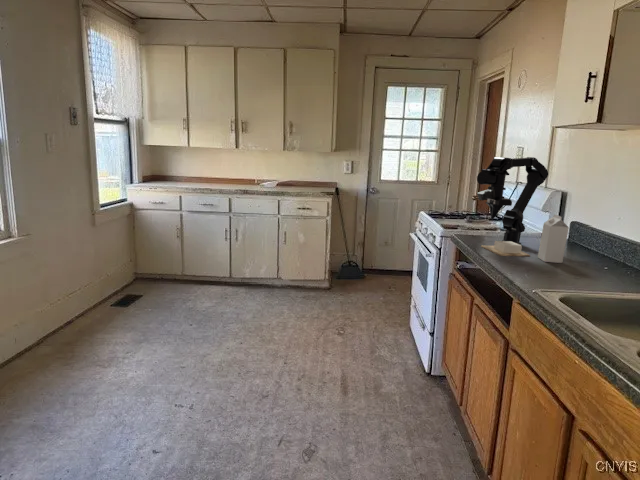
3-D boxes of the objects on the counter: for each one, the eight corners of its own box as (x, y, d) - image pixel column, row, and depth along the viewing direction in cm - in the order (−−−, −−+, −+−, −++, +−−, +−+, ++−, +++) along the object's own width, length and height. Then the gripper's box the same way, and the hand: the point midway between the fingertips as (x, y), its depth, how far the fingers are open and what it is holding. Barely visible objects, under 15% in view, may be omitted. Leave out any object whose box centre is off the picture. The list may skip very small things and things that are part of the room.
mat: (509, 247, 201) (509, 246, 201) (530, 256, 186) (530, 255, 186) (481, 246, 199) (481, 245, 199) (499, 255, 184) (499, 254, 184)
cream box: (511, 241, 194) (521, 245, 187) (510, 249, 195) (520, 253, 188) (494, 240, 193) (504, 245, 186) (493, 248, 194) (503, 253, 186)
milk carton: (554, 259, 184) (562, 214, 180) (562, 263, 177) (570, 217, 173) (537, 257, 185) (545, 213, 180) (544, 262, 178) (552, 216, 173)
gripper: (471, 182, 208) (467, 214, 211) (491, 186, 190) (486, 221, 193) (493, 183, 209) (488, 215, 213) (515, 187, 191) (509, 222, 195)
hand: (492, 218), depth 203 cm, fingers closed
